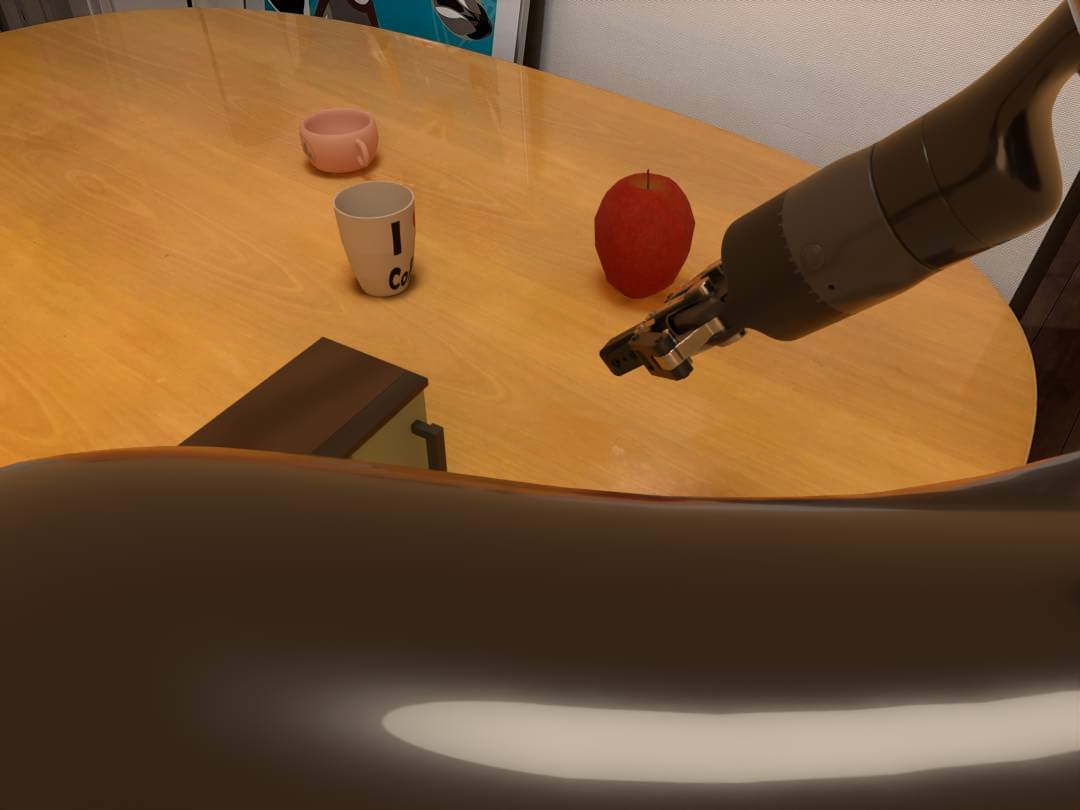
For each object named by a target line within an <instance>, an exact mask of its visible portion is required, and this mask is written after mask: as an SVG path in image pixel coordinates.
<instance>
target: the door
mask: <svg viewBox="0 0 1080 810" xmlns="http://www.w3.org/2000/svg"><path fill="white" fill-rule="evenodd" d="M425 397H426V396H425V389H424V390H423V391H422V392H421V393H419V394H418V395H417V396H416V397H415V398H414V399H413V400H412V401H411V402H410V403H408V404H407V405H406V406H405V407H404V408H403V409H402V410H401V411H400V412H399V413H398V414H396V415H395V416H394V417H393V418H392V419H391V420H390V421H389V422H388V423H387V424H385V425H384V426H383V427H382V428H381V429H380V430H379V431H378V432H377V433H376V434H374V435H373V436H372V437H371V438H370V439H369V440H368V441H367V442H366V443H365V444H363V445H362V446H361V447H360V448H359V449H358V450H357V451H356V452H355V453H354V454H353V455H351V456H350V457H349V458H348V459H351V460H359V461H367V462H375V463H383V464H391V465H399V466H407V467H415V468H422V469H429V470H437V471H444V472H448V465H447V464H448V463H447V462H448V461H447V451H446V441H445V430H444V429H445V428H444V427H443V426H441V425H439V424H436V423H434V422H432V423H431V424H430V423H428V418H427V408H426V399H425Z"/></svg>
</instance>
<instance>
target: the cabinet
mask: <svg viewBox="0 0 1080 810" xmlns="http://www.w3.org/2000/svg"><path fill="white" fill-rule="evenodd" d="M428 387H429V377H427V376H424V375H421V374H419V373H416V372H414V371H411V370H408V369H406V368H404V367H401V366H399V365H396V364H394V363H391V362H389V361H386V360H384V359H381V358H378V357H376V356H374V355H371V354H368V353H365V352H364V351H361V350H358V349H356V348H353V347H350V346H348V345H346V344H343V343H341V342H337V341H335V340H333V339H330V338H328V337H325V336H321V337H320V338H319V339H317V340H316V341H315V342H313V343H312V344H311V345H310V346H308V347H307V348H305V349H304V350H303V351H302V352H300V353H299V354H297V355H296V356H294V357H293V358H292V359H291V360H289V361H288V362H286V363H285V364H284V365H283V366H282V367H280V368H279V369H278V370H276V371H275V372H273V373H272V374H271V375H269V376H268V377H267V378H265V379H264V380H263V381H261V382H260V383H259V384H258V385H256V386H255V387H253V388H252V389H251V390H249V391H248V392H247V393H245V394H244V395H242V397H240V398H239V399H238V400H236V401H234V402H233V403H232V404H231V405H230V406H228V407H226V408H225V409H224V410H223V411H221V412H220V413H219V414H217V415H216V416H215V417H213V418H212V419H211V420H209V421H208V422H207V423H205V424H204V425H203V426H201V427H200V428H199V429H197V430H196V431H195V432H193V433H192V434H190V436H188V437H187V438H185V439H184V440H183V441H182V442H180V443H179V444H178V445H177V446H198V447H222V448H235V449H247V450H259V451H272V452H284V453H297V454H309V455H319V456H327V457H335V458H343V459H348V458H349V457H350V456H351V455H353V454H354V453H355V452H356V451H357V450H358V449H359V448H360V447H361V446H362V445H363V444H365V443H366V442H367V441H368V440H369V439H370V438H371V437H372V436H373V435H374V434H376V433H377V432H378V431H379V430H380V429H381V428H382V427H383V426H384V425H385V424H387V423H388V422H389V421H390V420H391V419H392V418H393V417H394V416H395V415H396V414H398V413H399V412H400V411H401V410H402V409H403V408H404V407H405V406H406V405H407V404H408V403H410V402H411V401H412V400H413V399H414V398H415V397H416V396H417V395H418V394H419V393H421V392H422V391H423V390H424V391H425V389H426V388H428Z"/></svg>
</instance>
